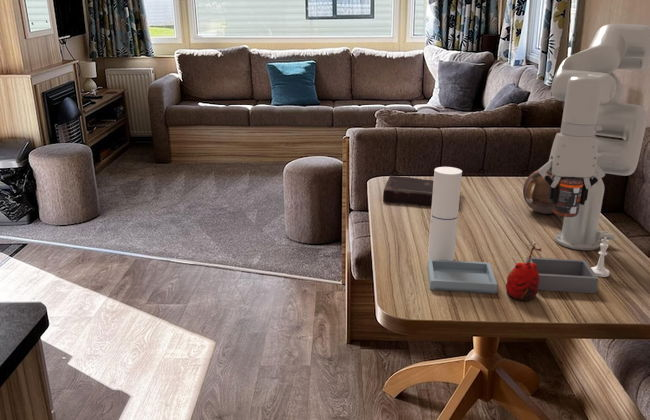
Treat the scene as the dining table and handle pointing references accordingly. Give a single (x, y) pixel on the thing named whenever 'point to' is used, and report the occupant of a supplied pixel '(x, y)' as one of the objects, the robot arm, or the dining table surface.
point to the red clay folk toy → (523, 280)
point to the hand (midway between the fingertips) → (566, 201)
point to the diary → (408, 190)
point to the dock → (565, 275)
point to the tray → (461, 276)
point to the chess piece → (601, 261)
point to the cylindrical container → (444, 213)
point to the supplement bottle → (568, 196)
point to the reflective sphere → (538, 193)
